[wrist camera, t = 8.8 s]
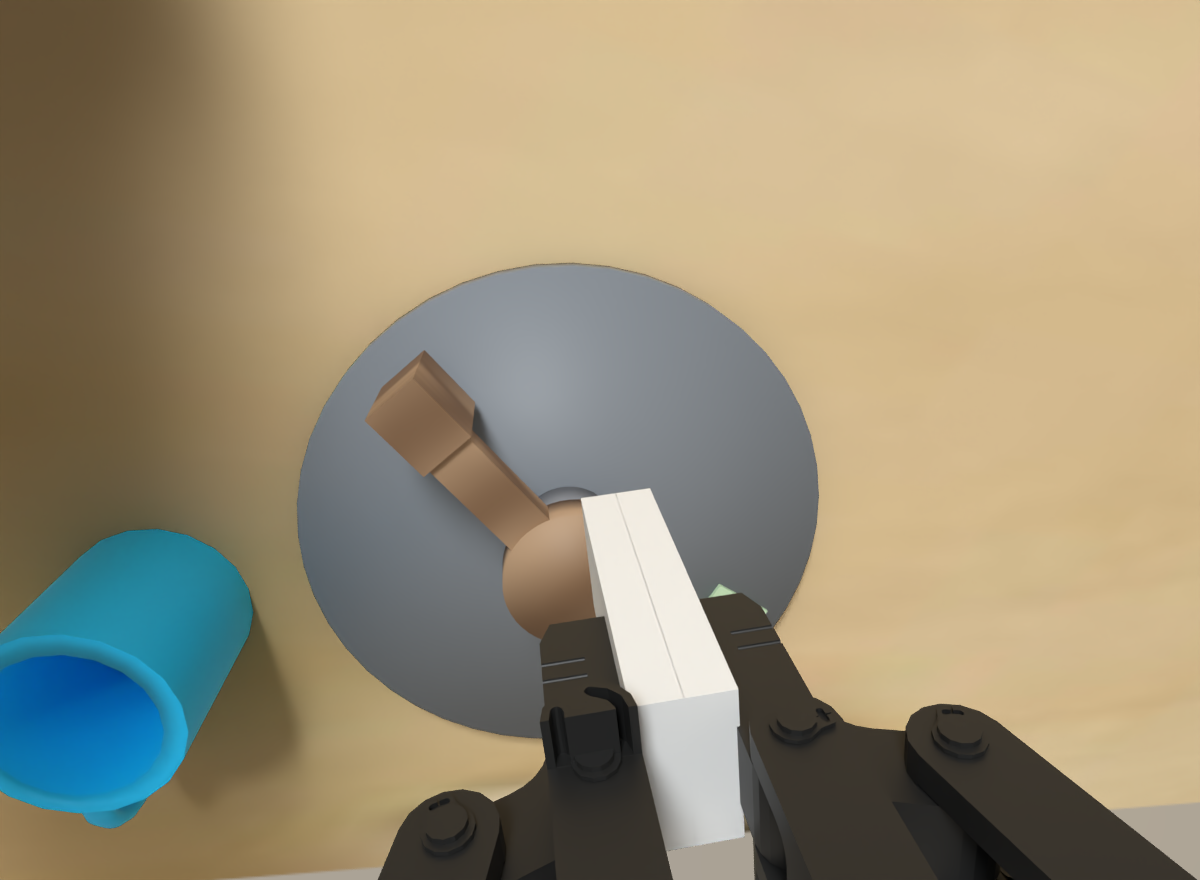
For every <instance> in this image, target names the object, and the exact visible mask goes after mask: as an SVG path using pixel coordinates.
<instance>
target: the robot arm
mask: <svg viewBox="0 0 1200 880" xmlns="http://www.w3.org/2000/svg"><path fill="white" fill-rule="evenodd" d="M581 504H582V513H583V521H584V529H585V537H586V545H587V553H588V562H589V570H590V578H591V586H592V594H593V603H594V609H595V614H596V617H595V618H589V619H582V620H576V621H570V622H563V623H557V624H551V625H549V627H548V629H547V631H546V632H545V634H544V636H543V638H542V640H541V642H540V644H539V645H540V657H541V667H542V668H541V669H542V681H543V693H544V705H545V706H544V707H543V708H542V712H541V717H540V728H541V734H542V740H543V746H544V752H545V758H546V759H545V761H544V764H543V766H542V768H541V769H540V770H539V772H538V773H537V775H536V776H535V777H534V778H533V779H532V780H531V781H529V782H528V783H527V784H526V785H525V786H524V787H522V788H520V789H518V790H517V791H515V792H513V793H511V794H509V795H507V796H505V797H503V798H501V799H499V800H496V801H494V802H493V801H491V800H490V799H488V798H487V797H485V796H484V795H483V794H481V793H479V792H474V791H468V790H463V789H462V790H455V791H448V792H443V793H440V794H438V795H436V796H434V797H432V798H429V799H427V800H425V801H424V802H422V803H421V804H420V805H419V806H418V807H416V808H415V809H414V810H413V811H412V812H410V813H409V815H408V816H407V818H406V819H405V821H404V822H403V824H402V825H401V827H400V829H399V830H398V833H397V835H396V837H395V840H394V842H393V845H392V847H391V849H390V852H389V854H388V857H387V859H386V861H385V864H384V866H383V869H382V871H381V873H380V876H379V878H378V880H673V878H672V874H671V870H670V866H669V861H668V857H667V853H666V851H671V850H677V849H682V848H688V847H693V846H699V845H704V844H709V843H715V842H720V841H726V840H731V839H737V838H742V837H745V836H744V835H745V834H744V815H745V818H746V820H747V823H748V826H749V829H750V831H751V834H752V837H753V845H754V874H755V880H1197V879H1195V878H1194V877H1193V876H1192V875H1191V874H1189V873H1188V872H1187V871H1185V870H1184V869H1183V868H1182V867H1180V866H1179V865H1178V864H1177V863H1175V862H1174V861H1173V860H1171V859H1170V858H1169V857H1168V856H1166V855H1165V854H1164V853H1163V852H1161V851H1160V850H1159V849H1158V848H1156V847H1155V846H1154V845H1153V844H1151V843H1150V842H1149V841H1148V840H1146V839H1145V838H1144V837H1142V836H1141V835H1140V834H1139V833H1137V832H1136V831H1135V830H1134V829H1132V828H1131V827H1130V826H1128V825H1127V824H1126V823H1125V822H1123V821H1122V820H1121V819H1119V818H1118V817H1117V816H1116V815H1114V814H1113V813H1112V812H1111V811H1110V810H1108V809H1107V808H1106V807H1104V806H1103V805H1102V804H1101V803H1099V802H1098V801H1097V800H1096V799H1094V798H1093V797H1092V796H1091V795H1089V794H1088V793H1087V792H1086V791H1084V790H1083V789H1082V788H1080V787H1079V786H1078V785H1077V784H1075V783H1074V782H1073V781H1072V780H1070V779H1069V778H1068V777H1067V776H1065V775H1064V774H1063V773H1061V772H1060V771H1059V770H1058V769H1056V768H1055V767H1054V766H1053V765H1051V764H1050V763H1049V762H1048V761H1046V760H1045V759H1044V758H1043V757H1041V756H1040V755H1039V754H1037V753H1036V752H1035V751H1034V750H1032V749H1031V748H1030V747H1029V746H1027V745H1026V744H1025V743H1024V742H1022V741H1021V740H1020V739H1018V738H1017V737H1016V736H1015V735H1013V734H1012V733H1011V732H1010V731H1008V730H1007V729H1006V728H1005V727H1003V726H1002V725H1001V724H1000V723H998V722H997V721H995V720H993V719H992V718H990V717H988V716H987V715H985V714H983V713H982V712H980V711H977V710H974V709H970V708H967V707H964V706H961V705H950V704H937V705H932V706H927V707H923V708H921V709H920V710H918V711H917V712H915V713H914V714H912V715H911V717H910V719H909V721H908V723H907V725H906V731H897V730H885V729H872V728H866V727H860V726H855V725H852V724H849V723H846V722H844V721H843V719H842V718H841V717H840V715H839V714H838V713H837V712H836V711H835V710H834V709H833V708H832V707H831V706H829V705H828V704H826V703H824V702H822V701H820V700H818V699H816V698H813V697H812V695H811V693H810V691H809V690H808V688H807V686H806V684H805V683H804V681H803V679H802V677H801V675H800V674H799V672H798V670H797V668H796V667H795V665H794V663H793V661H792V660H791V658H790V656H789V654H788V653H787V651H786V649H785V647H784V646H783V644H782V643H781V642H780V638H779V637H778V635H777V633H776V631H775V630H774V628H772V624H771V623H770V621H769V619H768V617H767V616H766V614H765V612H764V610H763V609H762V607H761V606H760V605H758V604H757V603H756V602H754V601H753V600H751V599H750V598H748V597H747V596H746V595H744V594H743V593H735V594H728V595H722V596H716V597H709V598H703V599H698V596H697V594H696V592H695V590H694V587H693V585H692V583H691V580H690V578H689V576H688V574H687V571H686V569H685V567H684V565H683V562H682V560H681V558H680V555H679V553H678V551H677V549H676V546H675V544H674V542H673V540H672V537H671V535H670V533H669V530H668V528H667V526H666V524H665V521H664V519H663V517H662V514H661V512H660V510H659V508H658V505H657V503H656V501H655V499H654V496H653V494H652V492H651V489H650V488H648V489H641V490H634V491H627V492H621V493H614V494H607V495H600V496H593V497H586V498H581Z"/></svg>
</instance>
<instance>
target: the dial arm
mask: <svg viewBox="0 0 1200 880" xmlns="http://www.w3.org/2000/svg"><path fill="white" fill-rule="evenodd" d="M474 408H475V402H474V401H473V400H472V399H471V397H470V396H469V395H468V394H467V393H466V392H465V391H464V390H463V389H462V388H461V387H460V386H459V385H458V384H457V383H456V382H455V381H454V380H453V379H452V378H451V377H450V376H449V375H448V374H447V373H446V372H445V371H444V370H443V369H442V368H441V366H440V365H439V364H438V363H437V362H436V361H435V360H434V359H433V358H432V357H431V356H430V355H429V354H428V353H427V352H426V351H425V350H424V351H422V352H421V353H420V354H419V355H418V356H417V357H416V358H414V359H413V360H412V361H411V362H410V363H409V364H408V365H406V366H405V367H404V368H403V369H402V370H401V371H400V372H399V373H397V374H396V375H395V376H394V377H393V378H392V379H391V380H389V381H388V382H387V383H386V384H385V385H384V386H383V387H382V388H381V390H380V391H379V393H378V395H377V397H376V399H375V401H374V403H373V405H372V407H371V409H370V411H369V413H368V415H367V417H366V419H365V422H366V423H367V424H368V425H369V426H370V427H372V428H373V429H374V430H375V431H376V432H377V433H378V434H379V435H380V436H381V437H382V438H383V439H384V440H385V441H386V442H387V443H388V444H389V445H390V446H391V447H393V448H394V449H395V450H396V451H397V452H398V453H399V454H400V455H401V456H402V457H403V458H404V459H405V460H406V461H407V462H408V463H409V464H410V465H411V466H412V467H413V468H415V469H416V470H417V471H418V472H419V473H420V474H421V475H422V476H423V477H424V476H426V475H427V474H428V473H429V472H430V473H431V474H432V475H433V476H434V477H435V478H436V479H437V480H438V481H439V482H441V483H442V484H443V485H444V486H445V487H446V488H447V489H448V490H449V491H450V492H451V493H452V494H453V495H454V496H455V497H456V498H457V499H458V500H459V501H460V502H461V503H462V504H463V505H464V506H465V507H467V508H468V509H469V510H470V511H471V512H472V513H473V514H474V515H475V516H476V517H477V518H478V519H479V520H480V521H481V522H482V523H483V524H484V525H485V526H486V527H487V528H488V529H489V530H490V531H492V532H493V533H494V534H495V535H496V536H497V537H498V538H499V539H500V540H501V541H502V542H503V543H504V544H505V545H506V547H505V550H504V554H503V573H502V582H503V595H504V600H505V603H506V606H507V608H508V610H509V612H510V614H511V615H512V617H513V618H514V619H515V621H516V622H517V623H518V624H519V625H520V626H521V627H522V628H523V629H525V630H526V631H527V632H528V633H530V634H532V635H533V636H535V637H537V638H539V639H541V640H542V638H543V636H544V634H545V632H546V631H547V629H548V627H549V625H551V624H557V623H563V622H570V621H576V620H582V619H589V618H595V617H596V614H595V609H594V603H593V594H592V586H591V578H590V570H589V562H588V553H587V545H586V537H585V529H584V521H583V513H582V504H581V499H573V500H563V501H558V502H555V503H551V504H548V505H546V504H545V503H544V502H543V501H542V500H541V499H540V498H539V497H538V496H537V495H536V494H535V493H534V492H533V491H532V490H531V489H530V488H529V487H528V486H527V485H526V484H525V483H524V482H523V481H522V480H521V479H520V478H519V477H518V476H517V475H516V474H515V473H514V472H513V471H512V470H511V469H510V468H509V467H508V466H507V465H506V464H505V463H504V462H503V461H502V460H501V459H500V458H499V457H498V456H497V455H496V454H495V453H494V452H493V451H492V450H491V449H490V448H489V447H488V446H487V445H486V444H485V443H484V442H483V441H482V439H481V438H480V437H479V436H478V435H477V434H476V433H475V432H474V431H473V430H472V425H473V416H474Z"/></svg>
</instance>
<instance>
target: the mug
mask: <svg viewBox="0 0 1200 880" xmlns="http://www.w3.org/2000/svg"><path fill="white" fill-rule="evenodd" d="M252 617H253V608H252V603H251V598H250V593H249V589H248V587H247V585H246V584H245V582H244V580H243V579H242V577H241V576H240V574H239V572H238V571H237V569H236V567H235V566H234V565H233V564H231V563H230V562H229V561H228V560H227V559H226V558H225V557H224V556H222V555H221V554H220V553H219V552H218V551H217V550H216V549H214V548H213V547H211V546H208V545H206V544H204V543H202V542H200V541H198V540H196V539H194V538H192V537H190V536H188V535H184V534H179V533H174V532H169V531H165V530H160V529H149V530H132V531H125V532H122V533H120V534H117V535H114V536H111V537H109V538H106V539H103V540H100V541H99V542H98V543H97V544H95V545H94V546H93V547H92V548H90V549H89V550H88V551H87V552H85V553H84V554H83V555H82V556H80V557H79V558H78V559H77V560H76V561H75V562H74V563H73V564H72V565H71V566H70V567H69V568H68V569H67V570H66V571H65V572H64V573H63V574H62V575H61V576H59V577H58V578H57V579H56V580H55V581H54V582H53V583H52V584H51V585H50V586H49V587H48V588H47V589H46V590H45V591H44V592H43V593H42V594H41V595H40V596H39V597H38V598H37V599H36V600H35V601H33V602H32V603H31V604H30V605H29V606H28V607H27V608H26V609H25V610H24V611H23V612H22V613H21V614H20V615H19V616H18V617H17V618H16V619H15V620H14V621H13V622H12V623H11V624H10V625H9V626H7V627H6V628H5V629H4V630H3V631H2V632H1V633H0V791H1V792H3V793H4V794H6V795H8V796H9V797H12V798H15V799H18V800H20V801H23V802H26V803H29V804H31V805H34V806H37V807H40V808H42V809H49V810H57V811H65V812H72V813H82V814H83V816H84V817H85V819H86V821H87V822H89V823H90V824H93V825H96V826H99V827H103V828H116V827H119V826H121V825H122V824H124V823H125V822H127V821H129V820H130V819H132V818H133V817H134V816H135V815H136V814H137V812H138V811H139V809H140V808H141V807H142V805H143V804H144V802H145V801H146V799H147V797H149V796H150V795H151V794H153V793H154V792H155V791H157V790H158V789H159V788H161V787H162V786H164V785H165V784H166V783H168V782H169V781H170V779H171V778H172V776H173V774H174V773H175V771H176V770H177V768H178V767H179V765H180V764H181V762H182V761H183V759H184V758H185V756H186V754H187V752H188V750H189V748H190V746H191V744H192V742H193V740H194V738H195V737H196V735H197V733H198V731H199V729H200V727H201V725H202V723H203V721H204V719H205V718H206V716H207V714H208V712H209V710H210V708H211V706H212V704H213V702H214V700H215V699H216V697H217V695H218V693H219V691H220V689H221V687H222V685H223V683H224V681H225V679H226V678H227V676H228V674H229V672H230V670H231V668H232V666H233V664H234V662H235V660H236V659H237V657H238V655H239V653H240V651H241V649H242V647H243V645H244V643H245V641H246V640H247V638H248V636H249V632H250V627H251V622H252Z"/></svg>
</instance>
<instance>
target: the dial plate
mask: <svg viewBox="0 0 1200 880" xmlns="http://www.w3.org/2000/svg"><path fill="white" fill-rule="evenodd" d="M424 350H425V351H426V352H427V353H428V354H429V355H430V356H431V357H432V358H433V359H434V360H435V361H436V362H437V363H438V364H439V365H440V366H441V368H442V369H443V370H444V371H445V372H446V373H447V374H448V375H449V376H450V377H451V378H452V379H453V380H454V381H455V382H456V383H457V384H458V385H459V386H460V387H461V388H462V389H463V390H464V391H465V392H466V393H467V394H468V395H469V396H470V397H471V399H472V400H473V401H474V402H475V408H474V416H473V425H472V430H473V431H474V432H475V433H476V434H477V435H478V436H479V437H480V438H481V439H482V441H483V442H484V443H485V444H486V445H487V446H488V447H489V448H490V449H491V450H492V451H493V452H494V453H495V454H496V455H497V456H498V457H499V458H500V459H501V460H502V461H503V462H504V463H505V464H506V465H507V466H508V467H509V468H510V469H511V470H512V471H513V472H514V473H515V474H516V475H517V476H518V477H519V478H520V479H521V480H522V481H523V482H524V483H525V484H526V485H527V486H528V487H529V488H530V489H531V490H532V491H533V492H534V493H535V494H536V495H537V496H538V497H539V498H540V499H541V500H542V501H543V502H544V503H545V504H546V505H548V504H551V503H555V502H558V501H563V500H573V499H581V498H586V497H593V496H600V495H607V494H614V493H621V492H627V491H634V490H641V489H648V488H650V489H651V492H652V494H653V496H654V499H655V501H656V503H657V505H658V508H659V510H660V512H661V514H662V517H663V519H664V521H665V524H666V526H667V528H668V530H669V533H670V535H671V537H672V540H673V542H674V544H675V546H676V549H677V551H678V553H679V555H680V558H681V560H682V562H683V565H684V567H685V569H686V571H687V574H688V576H689V578H690V580H691V583H692V585H693V587H694V590H695V592H696V594H697V596H698V599H703V598H709V597H716V596H722V595H728V594H735V593H743V594H744V595H746V596H747V597H748V598H750V599H751V600H753V601H754V602H756V603H757V604H758V605H760V606H761V607H762V609H763V610H764V612H765V614H766V616H767V617H768V619H769V621H770V623H771V624H772V628H773V627H774V626H775V624H776V623H777V621H778V620H779V618H780V617H781V615H782V614H783V612H784V611H785V609H786V608H787V606H788V604H789V602H790V600H791V598H792V596H793V594H794V592H795V590H796V588H797V586H798V585H799V583H800V580H801V578H802V575H803V572H804V569H805V566H806V564H807V561H808V558H809V555H810V552H811V547H812V543H813V538H814V534H815V529H816V524H817V511H818V499H819V491H818V474H817V463H816V458H815V454H814V449H813V444H812V439H811V435H810V432H809V429H808V427H807V424H806V421H805V418H804V416H803V413H802V410H801V407H800V405H799V403H798V402H797V400H796V398H795V396H794V394H793V392H792V390H791V389H790V387H789V385H788V383H787V381H786V379H785V378H784V376H783V375H782V374H781V372H780V371H779V370H778V368H777V367H776V366H775V364H774V363H773V362H772V360H771V359H770V358H769V356H768V355H767V354H766V352H765V351H764V350H763V349H762V348H761V347H760V346H759V345H758V344H757V343H756V342H755V341H754V340H752V339H751V338H750V337H749V336H748V335H747V334H746V333H745V332H744V331H743V330H742V329H741V328H740V327H739V326H737V325H736V324H735V323H733V322H732V321H731V320H729V319H728V318H727V317H725V316H724V315H723V314H721V313H720V312H719V311H717V310H716V309H715V308H713V307H712V306H710V305H709V304H708V303H706V302H704V301H703V300H701V299H699V298H697V297H695V296H693V295H691V294H690V293H688V292H686V291H684V290H682V289H680V288H679V287H677V286H674V285H671V284H669V283H666V282H663V281H661V280H658V279H655V278H653V277H650V276H647V275H645V274H641V273H637V272H632V271H628V270H623V269H619V268H615V267H610V266H601V265H590V264H579V263H559V264H536V265H530V266H524V267H519V268H513V269H507V270H502V271H497V272H494V273H491V274H488V275H485V276H482V277H478V278H475V279H472V280H469V281H466V282H463V283H461V284H459V285H456V286H454V287H452V288H450V289H448V290H446V291H444V292H442V293H440V294H438V295H435V296H433V297H431V298H429V299H428V300H426V301H425V302H423V303H422V304H420V305H419V306H417V307H415V308H414V309H412V310H411V311H409V312H408V313H406V314H405V315H403V316H402V317H400V318H399V319H397V320H396V321H395V322H394V323H393V324H392V325H391V326H389V327H388V328H387V329H386V330H385V331H384V332H383V333H382V334H380V335H379V336H378V337H377V338H376V339H375V340H374V341H372V342H371V343H370V345H369V346H368V347H367V348H366V349H365V350H364V351H363V353H362V354H361V355H360V356H359V357H358V358H357V360H356V361H355V362H354V363H353V364H352V365H351V367H350V368H349V369H348V370H347V372H346V373H345V375H344V376H343V377H342V379H341V381H340V382H339V384H338V385H337V387H336V388H335V390H334V392H333V393H332V395H331V396H330V398H329V400H328V401H327V403H326V404H325V406H324V408H323V410H322V412H321V414H320V417H319V419H318V421H317V423H316V426H315V428H314V430H313V432H312V435H311V437H310V439H309V443H308V447H307V450H306V454H305V458H304V461H303V465H302V469H301V474H300V482H299V491H298V499H297V518H298V538H299V543H300V548H301V554H302V559H303V564H304V568H305V571H306V574H307V577H308V580H309V583H310V585H311V588H312V591H313V594H314V597H315V599H316V600H317V602H318V604H319V606H320V608H321V610H322V612H323V614H324V616H325V618H326V620H327V622H328V624H329V625H330V626H331V628H332V629H333V631H334V632H335V633H336V635H337V636H338V638H339V639H340V640H341V642H342V643H343V645H344V646H345V647H346V649H347V650H348V651H349V652H350V653H351V654H352V655H353V656H354V657H355V658H356V659H357V660H358V661H359V662H360V664H361V665H362V666H363V667H364V668H365V669H366V670H367V671H368V672H370V673H371V674H372V675H373V676H374V677H376V678H377V679H378V680H379V681H381V682H382V683H383V684H384V685H385V686H387V687H388V688H389V689H390V690H392V691H393V692H395V693H397V694H398V695H400V696H401V697H403V698H405V699H406V700H408V701H409V702H411V703H413V704H414V705H416V706H418V707H420V708H422V709H424V710H426V711H428V712H430V713H433V714H435V715H437V716H439V717H441V718H443V719H446V720H449V721H452V722H455V723H458V724H461V725H464V726H467V727H470V728H473V729H477V730H482V731H486V732H491V733H496V734H500V735H508V736H517V737H526V738H542V734H541V728H540V717H541V712H542V708H543V707H544V706H545V705H544V693H543V681H542V669H541V668H542V667H541V657H540V645H539V644H540V642H541V639H539V638H537V637H535V636H533V635H532V634H530V633H528V632H527V631H526V630H525V629H523V628H522V627H521V626H520V625H519V624H518V623H517V622H516V621H515V619H514V618H513V617H512V615H511V614H510V612H509V610H508V608H507V606H506V603H505V600H504V595H503V582H502V573H503V554H504V550H505V547H506V545H505V544H504V543H503V542H502V541H501V540H500V539H499V538H498V537H497V536H496V535H495V534H494V533H493V532H492V531H490V530H489V529H488V528H487V527H486V526H485V525H484V524H483V523H482V522H481V521H480V520H479V519H478V518H477V517H476V516H475V515H474V514H473V513H472V512H471V511H470V510H469V509H468V508H467V507H465V506H464V505H463V504H462V503H461V502H460V501H459V500H458V499H457V498H456V497H455V496H454V495H453V494H452V493H451V492H450V491H449V490H448V489H447V488H446V487H445V486H444V485H443V484H442V483H441V482H439V481H438V480H437V479H436V478H435V477H434V476H433V475H432V474H431V473H430V472H429V473H428V474H427V475H426V476H424V477H423V476H422V475H421V474H420V473H419V472H418V471H417V470H416V469H415V468H413V467H412V466H411V465H410V464H409V463H408V462H407V461H406V460H405V459H404V458H403V457H402V456H401V455H400V454H399V453H398V452H397V451H396V450H395V449H394V448H393V447H391V446H390V445H389V444H388V443H387V442H386V441H385V440H384V439H383V438H382V437H381V436H380V435H379V434H378V433H377V432H376V431H375V430H374V429H373V428H372V427H370V426H369V425H368V424H367V423H366V422H365V419H366V417H367V415H368V413H369V411H370V409H371V407H372V405H373V403H374V401H375V399H376V397H377V395H378V393H379V391H380V390H381V388H382V387H383V386H384V385H385V384H386V383H387V382H388V381H389V380H391V379H392V378H393V377H394V376H395V375H396V374H397V373H399V372H400V371H401V370H402V369H403V368H404V367H405V366H406V365H408V364H409V363H410V362H411V361H412V360H413V359H414V358H416V357H417V356H418V355H419V354H420V353H421V352H422V351H424Z"/></svg>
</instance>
